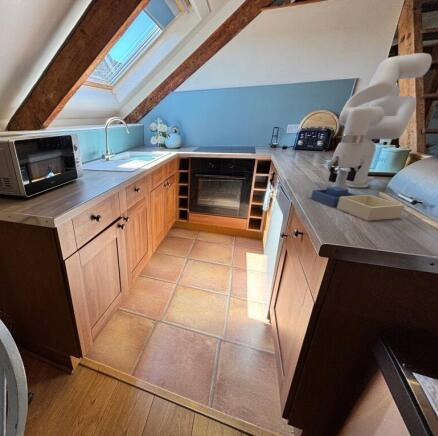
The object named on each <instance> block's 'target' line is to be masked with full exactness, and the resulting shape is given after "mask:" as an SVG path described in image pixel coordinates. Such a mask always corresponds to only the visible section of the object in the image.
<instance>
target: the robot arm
mask: <svg viewBox="0 0 438 436" xmlns="http://www.w3.org/2000/svg"><path fill="white" fill-rule="evenodd" d="M432 58H433V57H432V56H431V54H430V53H425V52H416V53H409V54H402V55H395V56H391V57H388V58H385V59H383V60H382V61H381V63H379V65H378V66H377V68H376V70H375V72H374V74H373V76H372V78H371V79H370V82H369V83H368V86H366V87H364V88H362V89H361V90H359V91H357V92H356V93H354V94H353V95H352V96H351V97H350V98H348V100H346V102H345V104H344V106H343V108H342V110H341V112H340V114H339V117H338V123H339V125H341V126H342V127H343V126H344V130H343V133H342V137H341V140H340V142H339V143H337V146H336V148H335V150H334V153H333V156H332V158H331V160H330V161H328V162H327V163H326V165H327V168H328V170H329V176H328V179H327V180H328V182H330V183H334V182H336V179H337V177H338V175H339V170H341V169H343V170H345V171H348V173H347V176H346V184H347V188H356V189H357V188H358V189H364V188H365V189H366V188H368V187H369V185H370V184H369V183H368V182H371V181H372V182H373V181H375V177H374V176H369V172H370V169H371V166H372V163H373V160H374V157H375V154H376V151H377V146H376V145H375V143H374V141H373V140H397V139H398V138H401V137H402V135H403V134H404V133H405V131H406V129H407V127H408V125H409V123H410V120H411V119H412V116H413V115H414V112H415V110H416V107H417V104H418V103H417V98H416V97H415V96H413V95H400V92H401V89H400V86H398V84H396V83H397V81H398V80H405V79H413V78H421V77H423V76H424V75H426V73H427V72H428V71H429V70H430V68H431V65H432V61H433V59H432ZM367 103H369V104H368V106H362V105H364V104H367Z"/></svg>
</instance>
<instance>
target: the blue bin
mask: <svg viewBox="0 0 438 436" xmlns="http://www.w3.org/2000/svg"><path fill="white" fill-rule="evenodd" d="M325 192H326V188H324V189H313V190H312V193H311V196H310V199H311V200H314V201H317V202H319V203H321V204H324V205H326V206H328V207H332V208H337V205H338V202H339V199H340V197H338V198H335V197H332V196H329V195H326V194H325ZM358 195H359V194H355V193H352V192H349V191H348V193H347V196H358Z"/></svg>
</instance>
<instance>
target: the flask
mask: <svg viewBox="0 0 438 436" xmlns="http://www.w3.org/2000/svg"><path fill="white" fill-rule="evenodd" d="M347 173H348V171H345V170H344V169H342V170H341V169H339V171H338V175H337V179H336V182H332V184H331V186H330V187H341V188H344V189H348V187H347V184H346V176H347Z"/></svg>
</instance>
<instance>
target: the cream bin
mask: <svg viewBox="0 0 438 436" xmlns="http://www.w3.org/2000/svg"><path fill="white" fill-rule="evenodd" d="M357 195H358V196H343V197H340V199H339V202H338V205H337V207H336V209H337V210H340V211H343V212H345V213H347V214H350V215H353V216H355V217H358V218H360V219H362V220H365V221H381V220H393V219H394V220H395V219H400V218H401V216H402V213H403V211H404V208H405V205H404V204H402V203H398V202H394V201H391V200H388V199H384V198H381V197H379V196H375V195H371V194H361V195H360V194H357Z"/></svg>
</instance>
